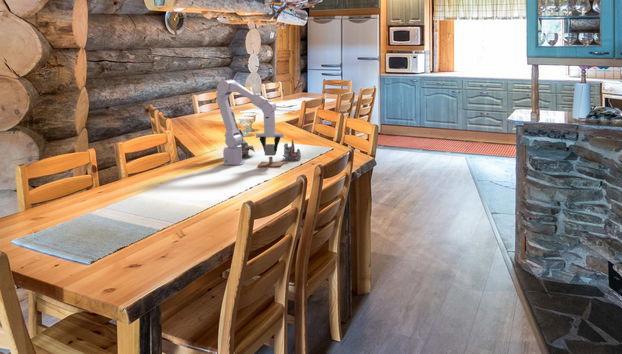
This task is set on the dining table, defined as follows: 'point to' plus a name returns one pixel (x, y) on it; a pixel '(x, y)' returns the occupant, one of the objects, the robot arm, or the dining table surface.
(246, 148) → the statue
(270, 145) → the collar
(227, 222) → the dining table surface
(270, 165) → the shaft block
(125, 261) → the dining table surface
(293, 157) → the red grey chunky piece
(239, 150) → the robot arm
